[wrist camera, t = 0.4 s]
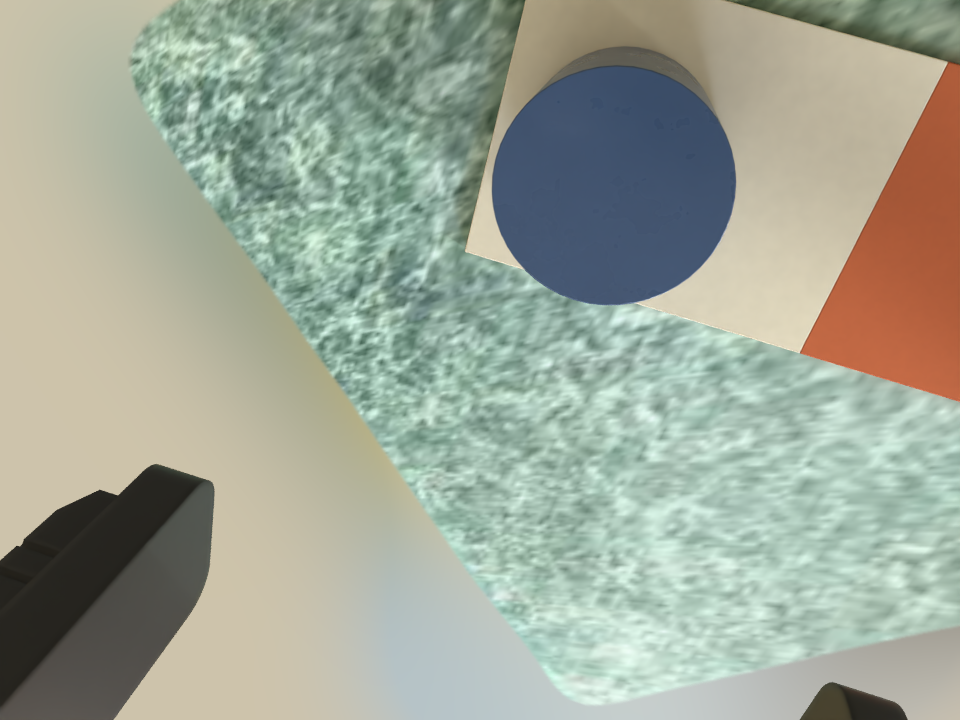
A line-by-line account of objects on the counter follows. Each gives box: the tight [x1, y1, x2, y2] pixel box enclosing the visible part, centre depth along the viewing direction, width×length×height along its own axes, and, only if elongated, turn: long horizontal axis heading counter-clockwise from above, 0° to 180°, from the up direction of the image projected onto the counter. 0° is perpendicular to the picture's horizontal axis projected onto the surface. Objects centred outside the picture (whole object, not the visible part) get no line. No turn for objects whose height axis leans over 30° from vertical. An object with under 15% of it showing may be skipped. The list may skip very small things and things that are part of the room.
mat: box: [465, 0, 960, 402], centre depth 30 cm, size 12×26×1 cm, turn 76°
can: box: [492, 46, 736, 305], centre depth 27 cm, size 8×8×7 cm
